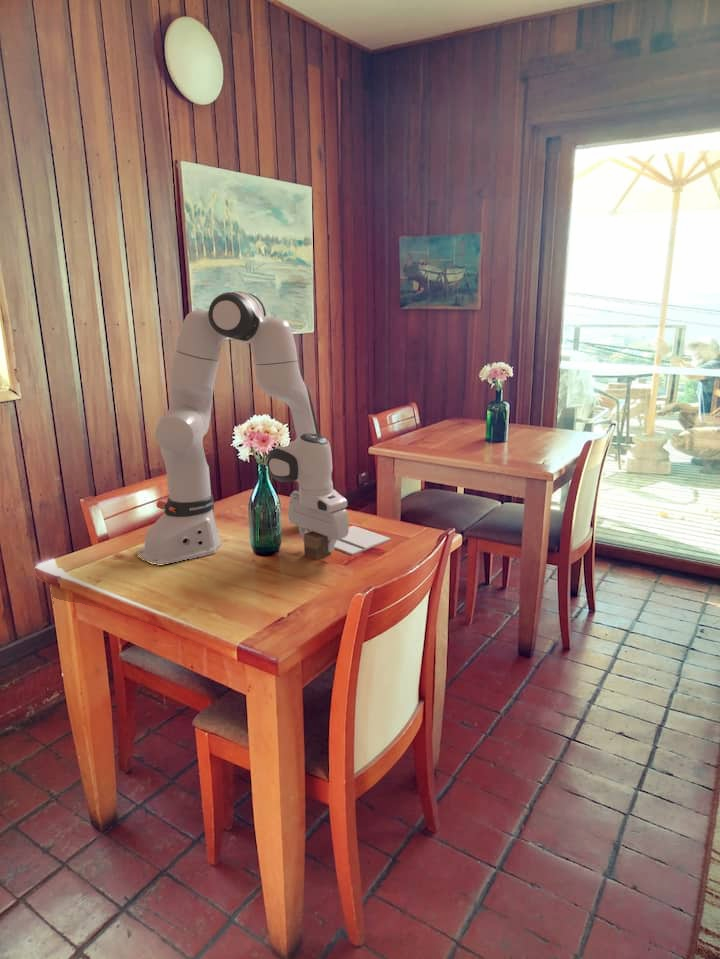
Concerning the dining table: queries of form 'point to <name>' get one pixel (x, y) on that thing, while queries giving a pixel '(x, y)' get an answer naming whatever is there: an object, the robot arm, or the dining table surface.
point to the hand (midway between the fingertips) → (318, 546)
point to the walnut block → (315, 545)
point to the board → (359, 540)
